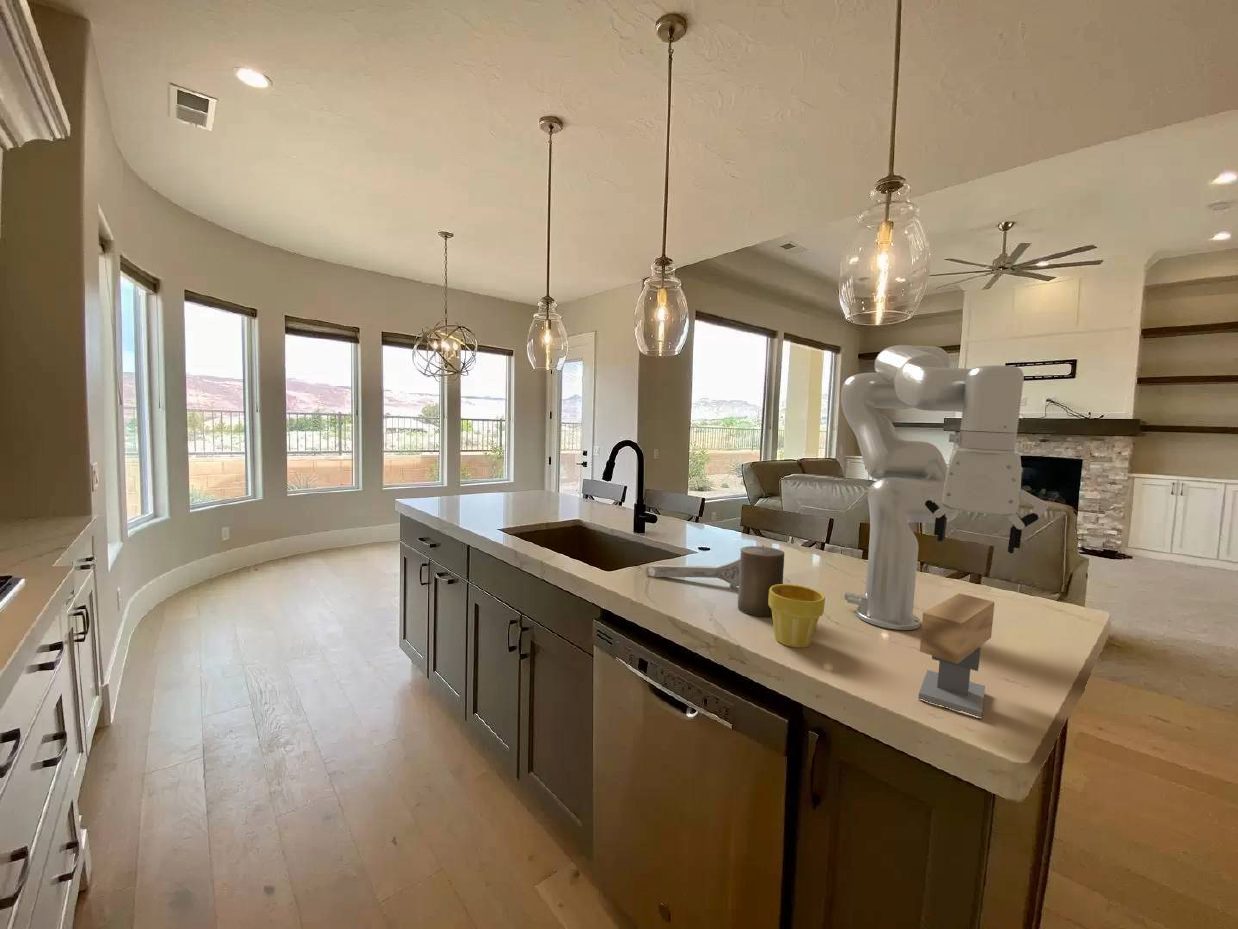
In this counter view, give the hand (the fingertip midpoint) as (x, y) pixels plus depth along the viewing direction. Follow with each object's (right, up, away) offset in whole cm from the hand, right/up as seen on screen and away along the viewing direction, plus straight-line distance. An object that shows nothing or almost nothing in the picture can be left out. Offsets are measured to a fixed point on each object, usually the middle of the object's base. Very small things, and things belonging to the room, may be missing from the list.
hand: (974, 545), depth 85 cm
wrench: (-38, -18, +50) cm, 65 cm away
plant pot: (-25, -21, +15) cm, 36 cm away
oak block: (-6, -15, -5) cm, 17 cm away
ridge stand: (-7, -23, -4) cm, 24 cm away
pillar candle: (-27, -20, +32) cm, 46 cm away
